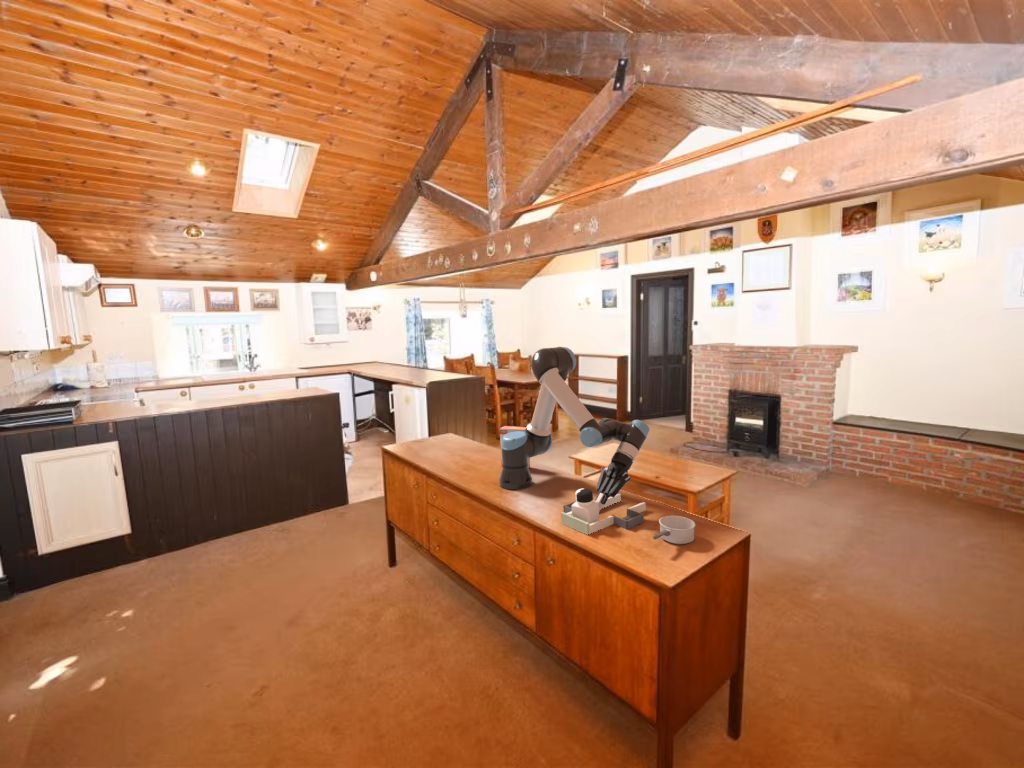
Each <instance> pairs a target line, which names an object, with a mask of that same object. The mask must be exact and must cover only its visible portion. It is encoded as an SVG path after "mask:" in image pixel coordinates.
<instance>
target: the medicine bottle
mask: <svg viewBox="0 0 1024 768" xmlns="http://www.w3.org/2000/svg"><path fill="white" fill-rule="evenodd" d="M593 494H594V493H593V491H592V490H591V489H590V488H584V487H583V488H579V489H577V490H576V491H575V501H576V502H575V501H574V502H575V503H574V504H572V516H573V517H576V518H578V519H580V520H583V521H585V522H587V523H589V524H591V523H594V522H596V521H598V520H600V511H599V507H598V502H597V501H595V500H594V495H593Z"/></svg>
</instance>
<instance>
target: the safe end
mask: <svg viewBox="0 0 1024 768" xmlns="http://www.w3.org/2000/svg"><path fill="white" fill-rule="evenodd" d="M560 523H561V524H562V525H564V524H565V525H564V526H566V525H567V526H566V527H568V526H569V528H570V527H571V528H570V529H573V528H574V529H573V530H575V529H576V530H575V531H577V530H578V531H577V532H579V531H580V532H579V533H581V532H582V533H581V534H583V533H585V534H584V535H586V534H587V535H586V536H589V535H590V534H589V523H587V522H585V521H583V520H580V519H578V518H576V517H573V516H571V515H569V514H566V513H564V511H562V512H560ZM588 534H589V535H588Z"/></svg>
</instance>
